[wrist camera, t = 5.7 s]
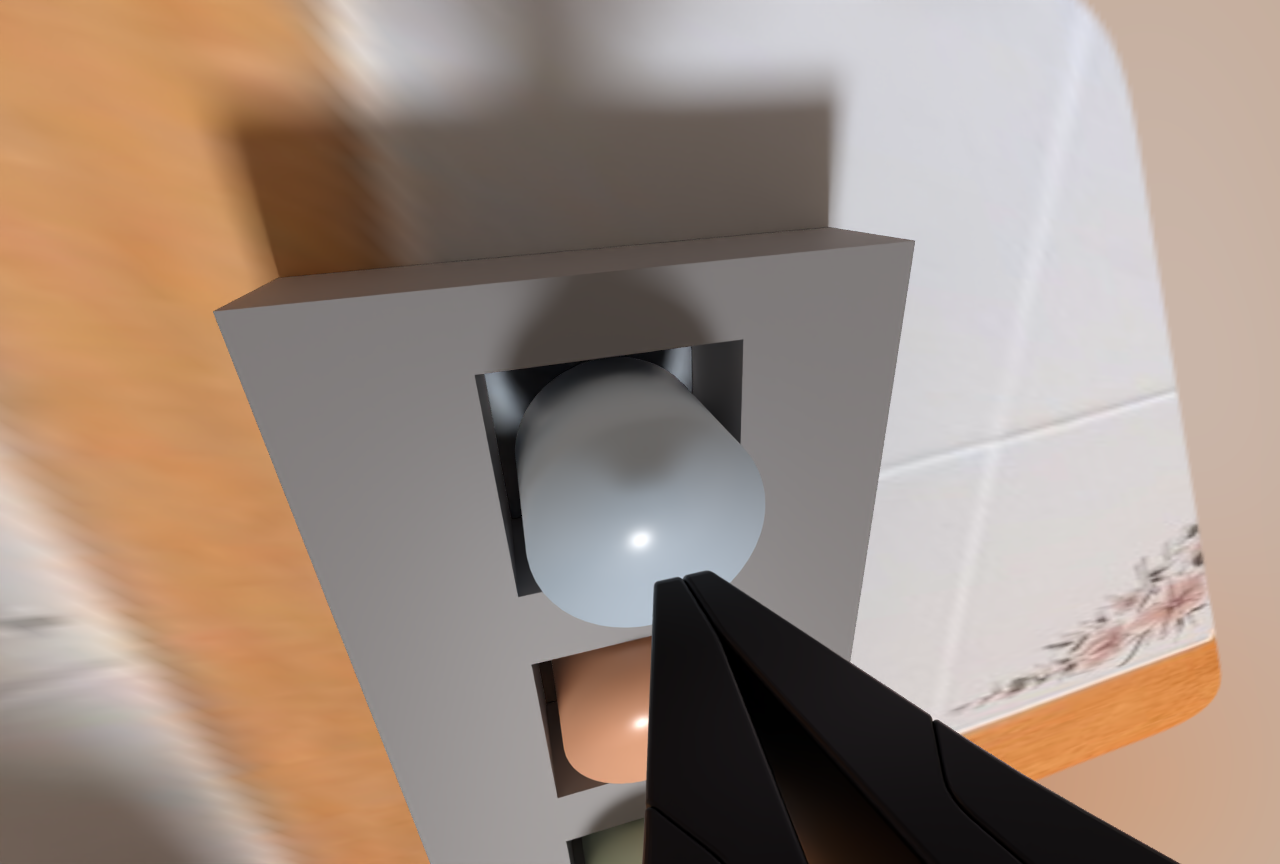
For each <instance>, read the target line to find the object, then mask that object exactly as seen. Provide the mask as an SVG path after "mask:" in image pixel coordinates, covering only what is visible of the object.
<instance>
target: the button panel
mask: <svg viewBox="0 0 1280 864" xmlns="http://www.w3.org/2000/svg"><path fill="white" fill-rule="evenodd" d="M914 245H915V241H913V240H907V239H901V238H894V237H888V236H882V235H875V234H869V233H863V232H856V231H850V230H844V229H838V228H831V227H826V228H815V229H804V230H793V231H782V232H772V233H761V234H750V235H739V236H728V237H717V238H706V239H695V240H684V241H674V242H663V243H652V244H641V245H630V246H619V247H608V248H597V249H586V250H576V251H565V252H554V253H543V254H532V255H521V256H510V257H499V258H488V259H478V260H467V261H456V262H445V263H434V264H423V265H412V266H401V267H390V268H379V269H369V270H358V271H347V272H336V273H325V274H314V275H303V276H292V277H281V278H277V279H275V280H273V281H271V282H269V283H267V284H265V285H263V286H262V287H260V288H258V289H256V290H254V291H252V292H250V293H248V294H246V295H244V296H242V297H240V298H238V299H236V300H234V301H232V302H231V303H229V304H227V305H225V306H223V307H221V308H219V309H217V310H215V311H213V313H214V315H215V318H216V321H217V323H218V326H219V328H220V331H221V333H222V336H223V338H224V341H225V343H226V346H227V348H228V351H229V354H230V356H231V359H232V361H233V364H234V366H235V369H236V371H237V374H238V376H239V379H240V381H241V384H242V387H243V389H244V392H245V394H246V397H247V399H248V402H249V404H250V407H251V409H252V412H253V414H254V417H255V420H256V422H257V425H258V427H259V430H260V432H261V435H262V437H263V440H264V442H265V445H266V447H267V450H268V452H269V455H270V458H271V460H272V463H273V465H274V468H275V470H276V473H277V475H278V478H279V480H280V483H281V485H282V488H283V491H284V493H285V496H286V498H287V501H288V503H289V506H290V508H291V511H292V513H293V516H294V518H295V521H296V524H297V526H298V529H299V531H300V534H301V536H302V539H303V541H304V544H305V546H306V549H307V551H308V554H309V557H310V559H311V562H312V564H313V567H314V569H315V572H316V574H317V577H318V579H319V582H320V584H321V587H322V589H323V592H324V595H325V597H326V600H327V602H328V605H329V607H330V610H331V612H332V615H333V617H334V620H335V622H336V625H337V628H338V630H339V633H340V635H341V638H342V640H343V643H344V645H345V648H346V650H347V653H348V655H349V658H350V661H351V663H352V666H353V668H354V671H355V673H356V676H357V678H358V681H359V683H360V686H361V688H362V691H363V694H364V696H365V699H366V701H367V704H368V706H369V709H370V711H371V714H372V716H373V719H374V721H375V724H376V727H377V729H378V732H379V734H380V737H381V739H382V742H383V744H384V747H385V749H386V752H387V754H388V757H389V759H390V762H391V765H392V767H393V770H394V772H395V775H396V777H397V780H398V782H399V785H400V787H401V790H402V792H403V795H404V798H405V800H406V803H407V805H408V808H409V810H410V813H411V815H412V818H413V820H414V823H415V825H416V828H417V831H418V833H419V836H420V838H421V841H422V843H423V846H424V848H425V851H426V853H427V856H428V858H429V861H430V864H585V858H584V851H583V845H582V836H585V835H589V834H592V833H595V832H598V831H602V830H605V829H608V828H611V827H615V826H618V825H621V824H624V823H628V822H631V821H634V820H637V819H641V818H644V813H645V810H646V806H645V796H646V780H645V781H641V782H635V783H625V784H612V783H604V782H600V781H596V780H593V779H590V778H588V777H586V776H584V775H582V774H580V773H579V772H578V771H577V770H575V769H574V768H573V766H572V765H571V764H570V763H569V761H568V759H567V757H566V754H565V751H564V746H563V739H562V732H561V725H560V717H559V710H558V703H557V701H556V702H552V703H548V704H546V700H545V694H544V689H543V684H542V678H541V673H540V668H539V663H540V662H544V661H549V660H553V659H557V658H561V657H565V656H569V655H574V654H578V653H582V652H586V651H590V650H594V649H599V648H603V647H607V646H611V645H615V644H619V643H624V642H628V641H632V640H636V639H640V638H644V637H649V636H652V625H648V626H642V627H630V628H623V627H608V626H601V625H597V624H593V623H589V622H586V621H583V620H581V619H578V618H576V617H573V616H572V615H570V614H568V613H566V612H565V611H563V610H562V609H560V608H559V607H558V606H556V605H555V604H554V603H553V602H552V601H551V600H550V599H549V598H548V597H547V596H546V595H545V594H544V593H543V592H542V590H541V589H540V587H539V586H538V584H537V583H536V581H535V579H534V577H533V574H532V572H531V570H530V567H529V563H528V559H527V554H526V545H525V537H524V528H523V519H522V518H517V519H511V514H510V508H509V503H508V498H507V492H506V487H505V482H504V477H503V471H502V466H501V461H500V455H499V450H498V445H497V439H496V434H495V429H494V423H493V418H492V413H491V407H490V402H489V397H488V392H487V386H486V381H485V376H484V374H485V373H493V372H500V371H508V370H515V369H523V368H530V367H538V366H545V365H553V364H560V363H568V362H576V361H583V360H591V359H598V358H606V357H613V356H621V355H628V354H636V353H643V352H651V351H658V350H666V349H674V348H681V347H689V346H692V377H693V395H694V396H695V397H696V398H697V399H698V400H699V401H700V402H701V403H702V404H703V405H704V407H705V408H706V409H707V410H708V411H709V412H710V413H711V414H712V415H713V416H714V417H715V418H716V419H717V420H718V421H719V422H720V423H721V424H722V425H723V427H724V428H725V429H726V430H727V431H728V432H729V433H730V434H731V435H732V436H733V437H734V438H735V439H736V440H737V441H738V442H739V443H740V444H741V446H742V447H743V448H744V449H745V450H746V451H747V453H748V454H749V455H750V456H751V458H752V459H753V461H754V463H755V465H756V467H757V468H758V470H759V473H760V476H761V479H762V482H763V486H764V492H765V516H764V523H763V526H762V530H761V534H760V537H759V539H758V542H757V544H756V547H755V549H754V550H753V552H752V554H751V556H750V558H749V560H748V561H747V562H746V564H745V565H744V567H743V568H742V570H741V571H740V572H739V573H738V574H737V576H736V577H735V578H734V579H733V580H732V581H731V582H730V583H731V584H732V585H734V586H735V587H737V588H738V589H740V590H741V591H743V592H744V593H746V594H747V595H749V596H750V597H752V598H753V599H755V600H756V601H758V602H759V603H761V604H762V605H764V606H765V607H767V608H769V609H770V610H772V611H773V612H775V613H776V614H778V615H779V616H781V617H782V618H784V619H785V620H787V621H788V622H790V623H791V624H793V625H794V626H796V627H797V628H799V629H800V630H802V631H803V632H805V633H807V634H808V635H810V636H811V637H813V638H814V639H816V640H817V641H819V642H820V643H822V644H823V645H825V646H826V647H828V648H829V649H831V650H832V651H834V652H835V653H837V654H838V655H840V656H841V657H843V658H844V659H846V660H848V661H849V662H850V659H851V653H852V646H853V640H854V633H855V627H856V621H857V614H858V608H859V601H860V595H861V588H862V582H863V575H864V569H865V562H866V556H867V549H868V543H869V536H870V530H871V523H872V517H873V511H874V504H875V498H876V491H877V485H878V478H879V472H880V465H881V459H882V452H883V446H884V439H885V433H886V426H887V420H888V413H889V407H890V401H891V394H892V388H893V381H894V375H895V368H896V362H897V355H898V349H899V342H900V336H901V329H902V323H903V316H904V310H905V303H906V297H907V291H908V284H909V278H910V271H911V265H912V258H913V252H914Z"/></svg>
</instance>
